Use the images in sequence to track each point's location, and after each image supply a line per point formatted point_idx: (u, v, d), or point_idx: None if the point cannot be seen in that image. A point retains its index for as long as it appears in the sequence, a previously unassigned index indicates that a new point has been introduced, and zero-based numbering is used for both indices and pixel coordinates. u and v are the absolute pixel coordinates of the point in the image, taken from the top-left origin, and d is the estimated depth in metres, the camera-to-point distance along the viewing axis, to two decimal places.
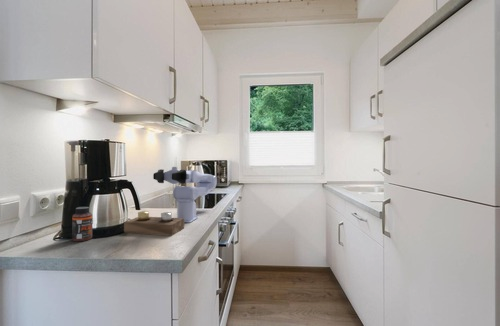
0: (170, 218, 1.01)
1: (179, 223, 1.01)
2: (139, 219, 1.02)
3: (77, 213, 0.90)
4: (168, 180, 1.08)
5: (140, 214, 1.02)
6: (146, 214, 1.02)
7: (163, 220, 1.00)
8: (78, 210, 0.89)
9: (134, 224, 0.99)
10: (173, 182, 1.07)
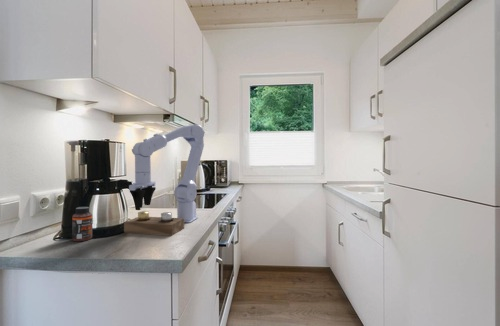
0: (170, 218, 1.01)
1: (179, 223, 1.01)
2: (139, 219, 1.02)
3: (77, 213, 0.90)
4: (150, 184, 1.05)
5: (140, 214, 1.02)
6: (146, 214, 1.02)
7: (163, 220, 1.00)
8: (78, 210, 0.89)
9: (134, 224, 0.99)
10: None
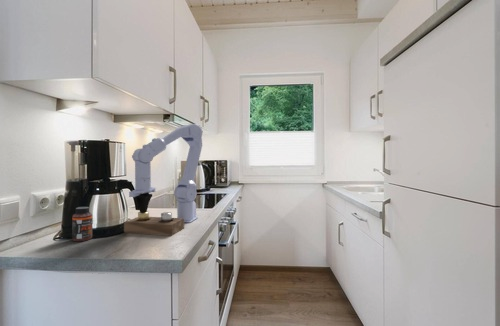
0: (170, 218, 1.01)
1: (179, 223, 1.01)
2: (139, 219, 1.02)
3: (77, 213, 0.90)
4: (150, 190, 1.05)
5: (140, 214, 1.02)
6: (146, 214, 1.02)
7: (163, 220, 1.00)
8: (78, 210, 0.89)
9: (134, 224, 0.99)
10: (148, 191, 1.03)
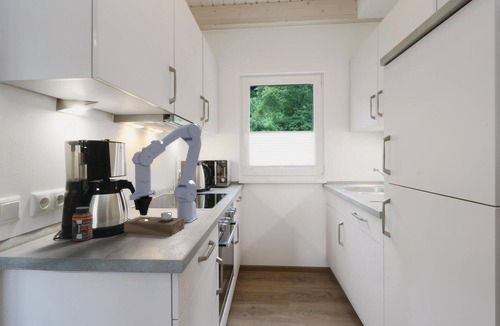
0: (170, 218, 1.01)
1: (179, 223, 1.01)
2: None
3: (77, 213, 0.90)
4: (150, 193, 1.05)
5: None
6: None
7: (163, 220, 1.00)
8: (78, 210, 0.89)
9: (134, 224, 0.99)
10: (149, 194, 1.03)
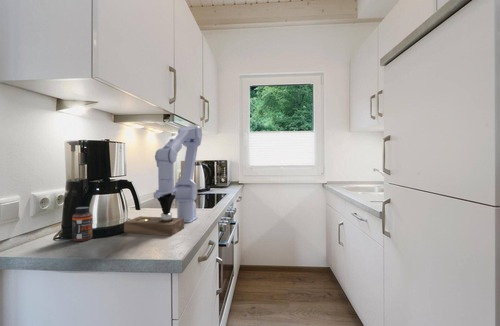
0: (170, 218, 1.01)
1: (179, 223, 1.01)
2: None
3: (77, 213, 0.90)
4: (173, 191, 1.03)
5: None
6: None
7: (163, 220, 1.00)
8: (78, 210, 0.89)
9: (134, 224, 0.99)
10: (172, 192, 1.01)
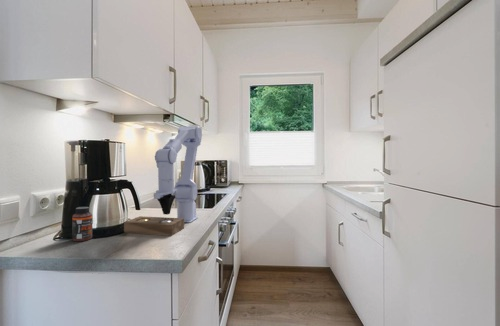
0: None
1: (179, 223, 1.01)
2: None
3: (77, 213, 0.90)
4: None
5: None
6: None
7: None
8: (78, 210, 0.89)
9: (134, 224, 0.99)
10: (172, 192, 1.01)
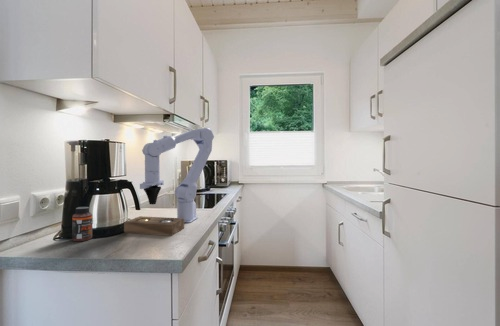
0: None
1: (179, 223, 1.01)
2: None
3: (77, 213, 0.90)
4: (159, 183, 1.10)
5: None
6: None
7: None
8: (78, 210, 0.89)
9: (134, 224, 0.99)
10: (158, 184, 1.07)
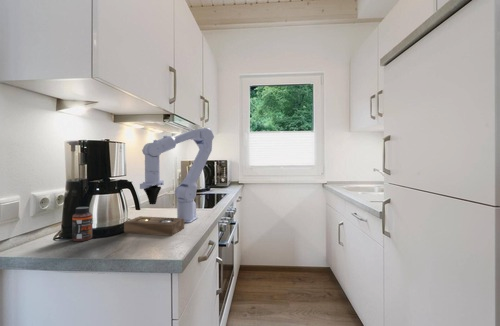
0: None
1: (179, 223, 1.01)
2: None
3: (77, 213, 0.90)
4: (159, 183, 1.10)
5: None
6: None
7: None
8: (78, 210, 0.89)
9: (134, 224, 0.99)
10: (158, 184, 1.07)
